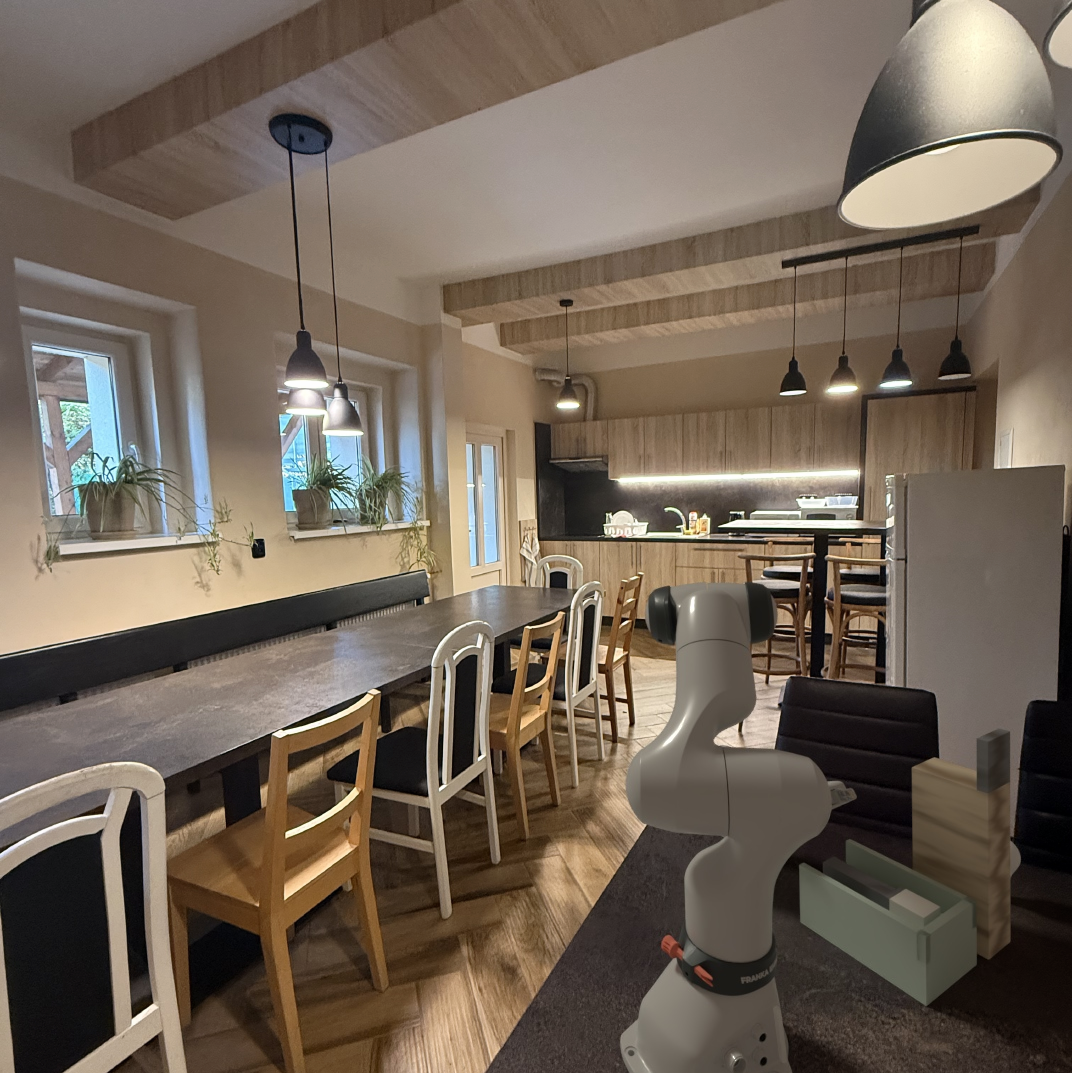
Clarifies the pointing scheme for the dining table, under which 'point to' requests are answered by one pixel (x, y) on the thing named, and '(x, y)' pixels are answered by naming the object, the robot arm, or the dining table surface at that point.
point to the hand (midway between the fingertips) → (835, 801)
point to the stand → (968, 833)
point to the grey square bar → (883, 893)
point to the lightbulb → (1014, 858)
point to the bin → (893, 925)
